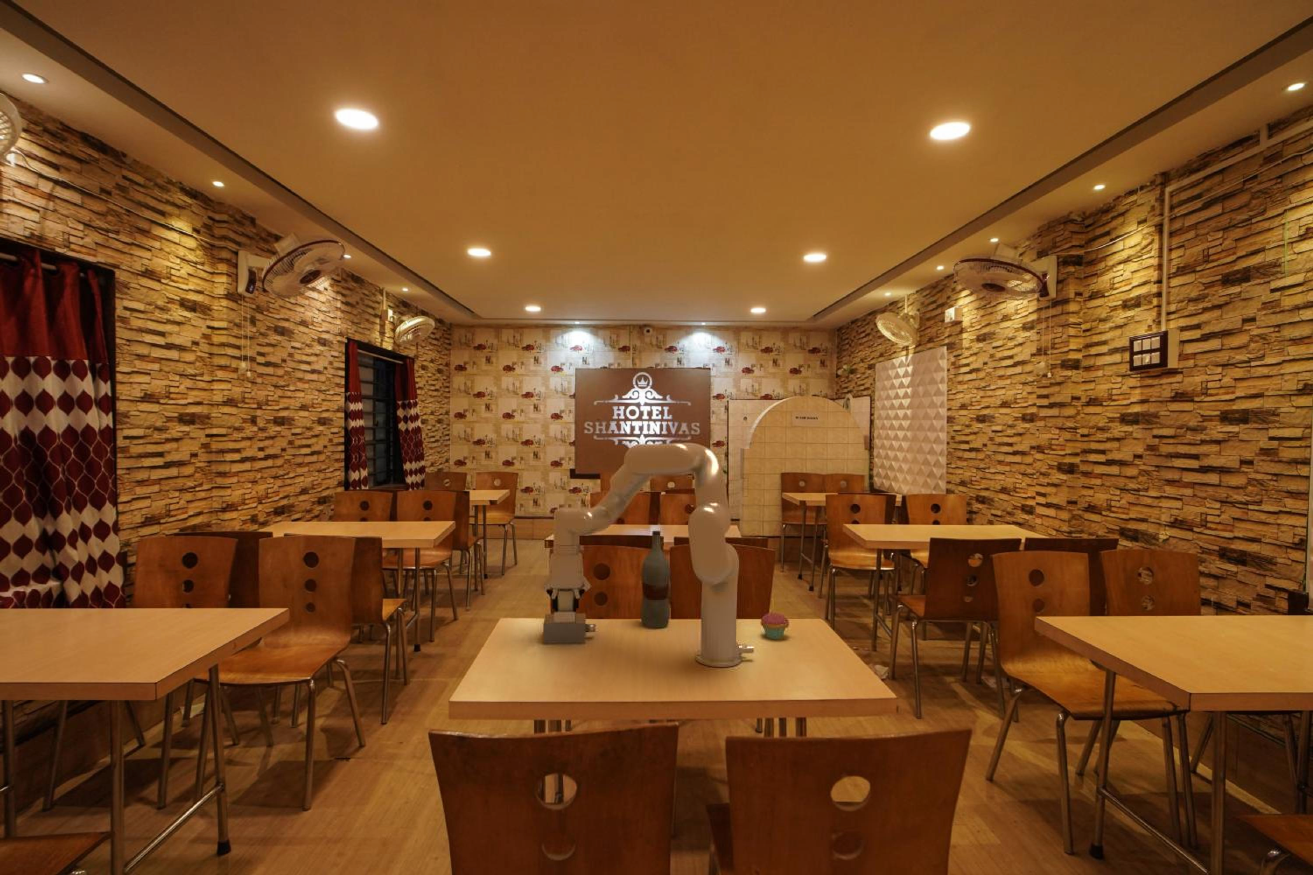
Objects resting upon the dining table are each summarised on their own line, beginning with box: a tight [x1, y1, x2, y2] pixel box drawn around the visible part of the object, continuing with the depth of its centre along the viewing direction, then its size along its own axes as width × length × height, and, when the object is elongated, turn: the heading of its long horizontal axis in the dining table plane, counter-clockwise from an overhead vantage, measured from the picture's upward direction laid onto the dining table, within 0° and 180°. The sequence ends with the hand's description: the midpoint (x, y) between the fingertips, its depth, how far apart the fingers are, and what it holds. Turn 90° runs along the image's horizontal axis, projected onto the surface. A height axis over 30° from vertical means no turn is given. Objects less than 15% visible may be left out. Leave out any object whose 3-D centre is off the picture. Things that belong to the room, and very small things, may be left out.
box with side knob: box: [542, 610, 597, 646], centre depth 187 cm, size 15×12×9 cm
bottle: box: [640, 530, 671, 630], centre depth 201 cm, size 9×9×30 cm
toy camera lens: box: [556, 589, 575, 611], centre depth 186 cm, size 5×5×8 cm
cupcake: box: [760, 596, 790, 640], centre depth 190 cm, size 9×8×12 cm
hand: (565, 610), depth 186 cm, fingers closed on toy camera lens, 5 cm apart
